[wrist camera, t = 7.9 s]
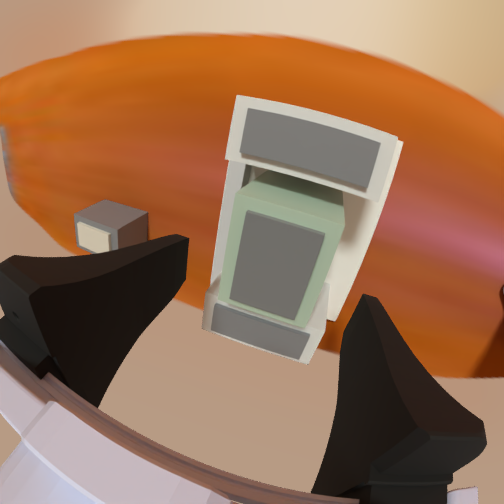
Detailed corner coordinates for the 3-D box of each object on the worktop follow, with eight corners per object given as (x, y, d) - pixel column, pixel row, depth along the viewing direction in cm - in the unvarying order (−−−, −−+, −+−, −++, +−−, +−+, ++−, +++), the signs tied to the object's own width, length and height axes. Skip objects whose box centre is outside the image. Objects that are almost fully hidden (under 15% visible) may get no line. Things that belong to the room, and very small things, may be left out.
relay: (148, 211, 22) (114, 231, 18) (147, 244, 23) (116, 267, 20) (105, 199, 23) (71, 215, 19) (106, 228, 24) (74, 247, 20)
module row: (400, 141, 15) (431, 150, 9) (335, 315, 21) (329, 374, 16) (244, 99, 16) (202, 90, 11) (214, 276, 23) (178, 323, 17)
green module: (342, 188, 16) (344, 228, 10) (316, 265, 19) (303, 332, 13) (270, 167, 17) (233, 194, 11) (253, 245, 20) (215, 302, 14)
